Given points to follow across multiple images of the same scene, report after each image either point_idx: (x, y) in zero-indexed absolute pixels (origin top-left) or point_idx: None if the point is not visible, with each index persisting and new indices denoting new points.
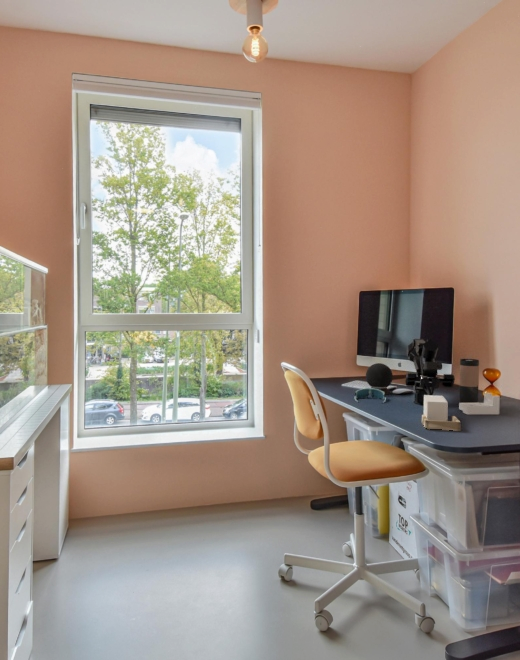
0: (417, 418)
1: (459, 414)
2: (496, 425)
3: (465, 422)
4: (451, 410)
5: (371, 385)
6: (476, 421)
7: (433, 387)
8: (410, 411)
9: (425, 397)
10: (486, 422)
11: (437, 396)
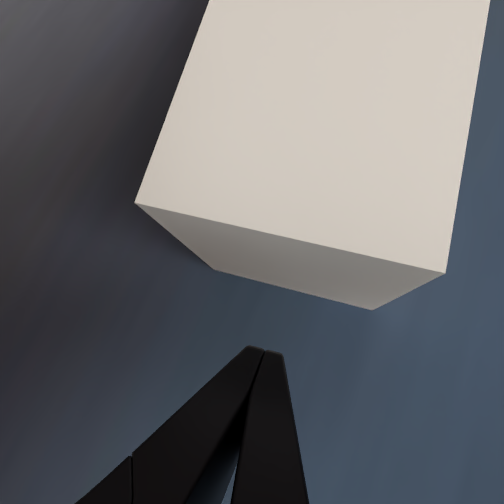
0: (474, 154)
1: (51, 311)
2: (16, 16)
3: (151, 64)
4: (22, 495)
5: None
6: (66, 96)
7: (129, 498)
8: (477, 471)
9: (479, 40)
10: (23, 76)
11: (245, 136)
